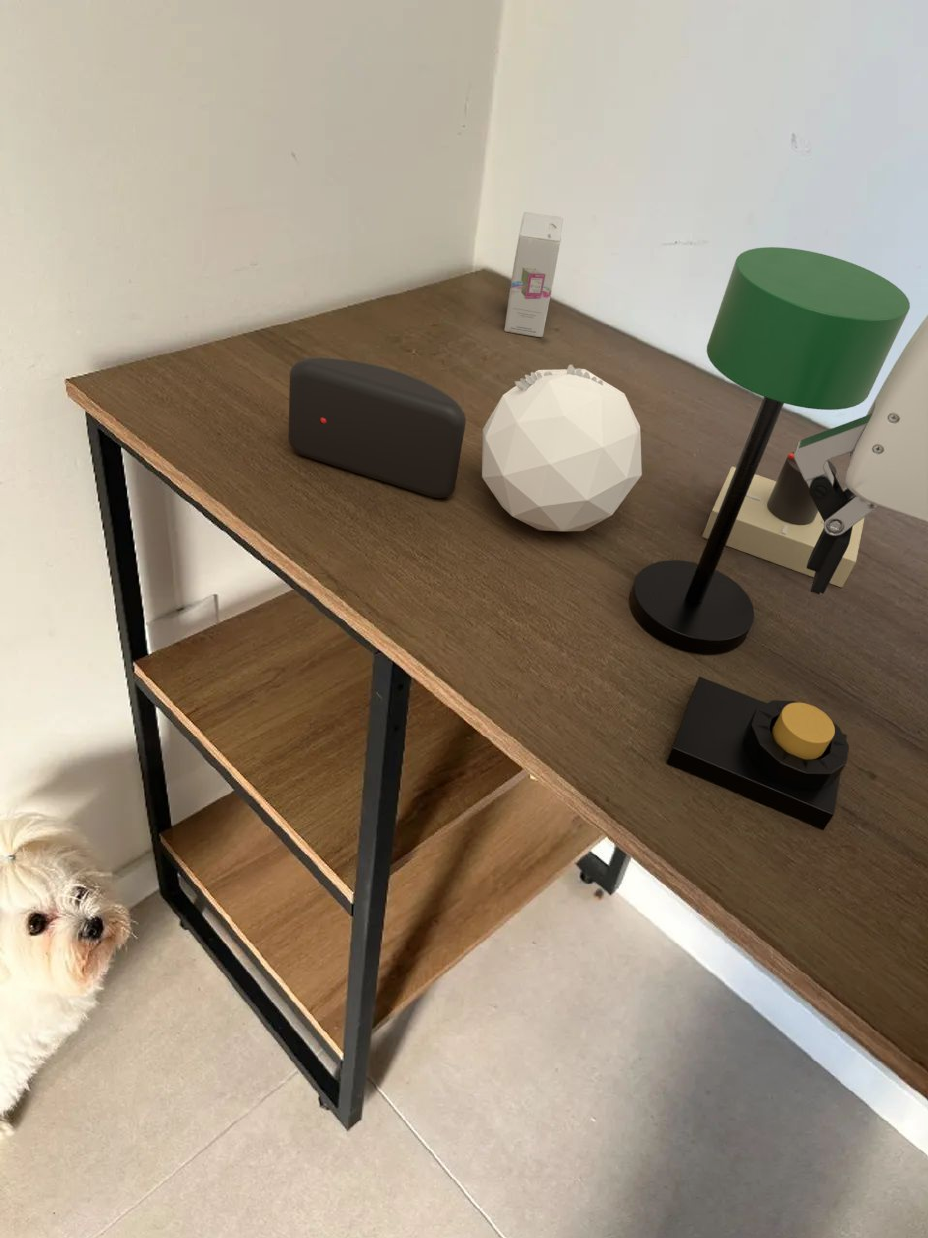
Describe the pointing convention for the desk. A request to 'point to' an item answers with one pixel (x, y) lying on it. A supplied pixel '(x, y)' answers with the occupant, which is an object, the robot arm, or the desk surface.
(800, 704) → the button
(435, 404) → the dark grey speaker
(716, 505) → the dimmer panel
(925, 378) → the robot arm
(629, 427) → the geodesic sphere
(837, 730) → the button base
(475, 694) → the desk surface
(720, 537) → the desk lamp
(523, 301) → the ink box
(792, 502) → the dimmer knob
